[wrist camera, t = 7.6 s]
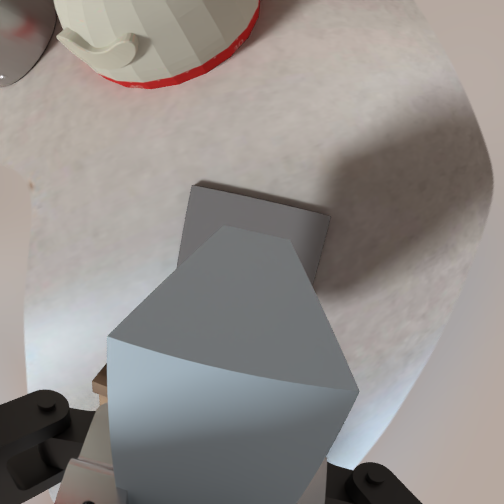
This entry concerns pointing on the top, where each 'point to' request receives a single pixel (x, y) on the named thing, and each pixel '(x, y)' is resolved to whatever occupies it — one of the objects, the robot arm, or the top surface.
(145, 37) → the kitchen timer
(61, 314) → the top surface
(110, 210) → the top surface
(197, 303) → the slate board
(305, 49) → the top surface
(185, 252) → the mat
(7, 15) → the robot arm
